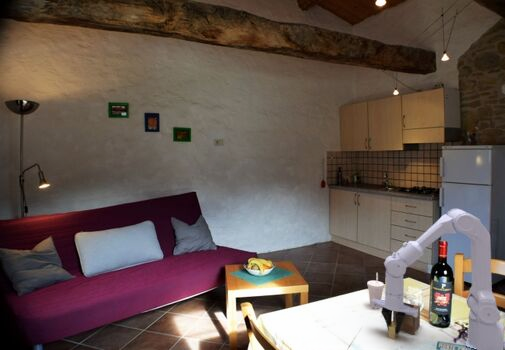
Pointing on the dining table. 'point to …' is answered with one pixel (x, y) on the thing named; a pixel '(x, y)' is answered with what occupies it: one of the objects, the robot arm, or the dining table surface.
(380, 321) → the dining table surface
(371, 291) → the smoothie
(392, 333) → the brass token
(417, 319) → the box
